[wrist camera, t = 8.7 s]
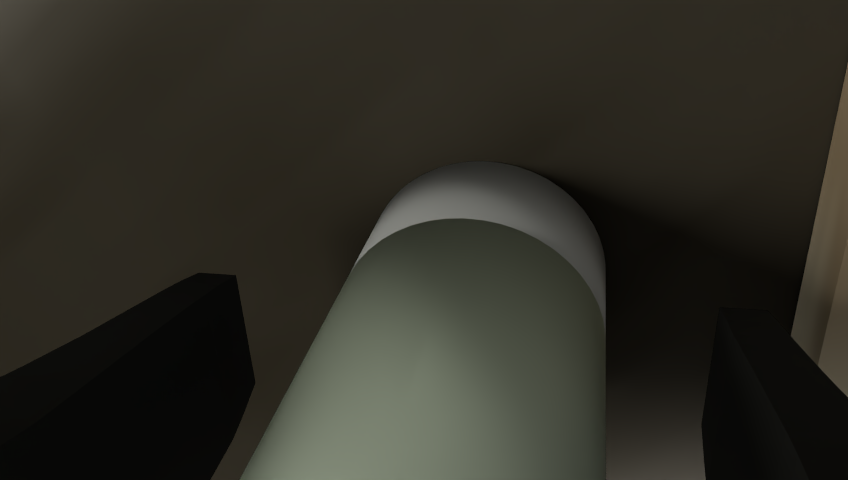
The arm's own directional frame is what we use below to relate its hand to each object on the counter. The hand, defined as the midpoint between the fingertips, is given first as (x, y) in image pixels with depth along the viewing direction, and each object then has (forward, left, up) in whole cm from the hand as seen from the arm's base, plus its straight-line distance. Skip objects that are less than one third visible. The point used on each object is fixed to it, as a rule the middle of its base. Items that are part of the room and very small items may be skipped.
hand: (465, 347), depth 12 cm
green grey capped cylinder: (0, 0, -2) cm, 2 cm away
